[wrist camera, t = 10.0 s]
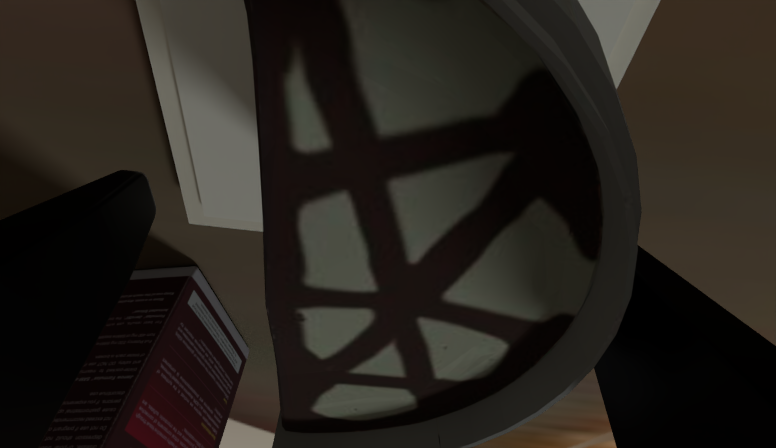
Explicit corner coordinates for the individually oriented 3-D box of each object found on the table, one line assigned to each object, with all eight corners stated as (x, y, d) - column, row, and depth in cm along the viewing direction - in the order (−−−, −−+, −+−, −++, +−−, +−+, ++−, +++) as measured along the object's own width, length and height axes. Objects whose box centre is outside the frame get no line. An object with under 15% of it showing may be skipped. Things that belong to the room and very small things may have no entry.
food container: (469, 236, 18) (510, 498, 11) (328, 219, 18) (269, 476, 11) (593, -129, 10) (1078, -109, 3) (345, -171, 10) (152, -274, 3)
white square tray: (730, -212, 11) (783, -223, 9) (524, 239, 21) (534, 268, 20) (91, -329, 10) (35, -363, 8) (201, 203, 20) (184, 230, 19)
